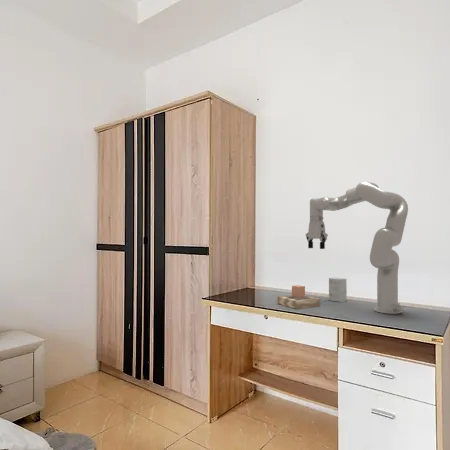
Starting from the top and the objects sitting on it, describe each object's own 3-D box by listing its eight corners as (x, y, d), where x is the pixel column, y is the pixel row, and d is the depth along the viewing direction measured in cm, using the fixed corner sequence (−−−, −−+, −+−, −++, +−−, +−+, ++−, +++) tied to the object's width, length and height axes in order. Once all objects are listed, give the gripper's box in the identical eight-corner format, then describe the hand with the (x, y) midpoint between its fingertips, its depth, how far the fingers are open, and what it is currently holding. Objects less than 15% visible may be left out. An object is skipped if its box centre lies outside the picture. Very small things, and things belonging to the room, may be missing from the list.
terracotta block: (305, 297, 197) (305, 286, 197) (297, 298, 195) (297, 287, 195) (298, 296, 202) (298, 285, 202) (291, 296, 199) (291, 285, 199)
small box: (346, 301, 210) (346, 278, 211) (340, 302, 206) (340, 279, 206) (334, 299, 217) (334, 277, 217) (328, 300, 212) (328, 278, 213)
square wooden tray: (319, 306, 195) (319, 298, 195) (296, 309, 187) (296, 300, 187) (299, 301, 209) (299, 293, 209) (277, 303, 201) (277, 296, 201)
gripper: (331, 219, 208) (331, 249, 207) (310, 220, 223) (310, 247, 223) (322, 218, 204) (322, 249, 204) (301, 219, 219) (301, 248, 219)
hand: (316, 248), depth 213 cm, fingers open, 9 cm apart
